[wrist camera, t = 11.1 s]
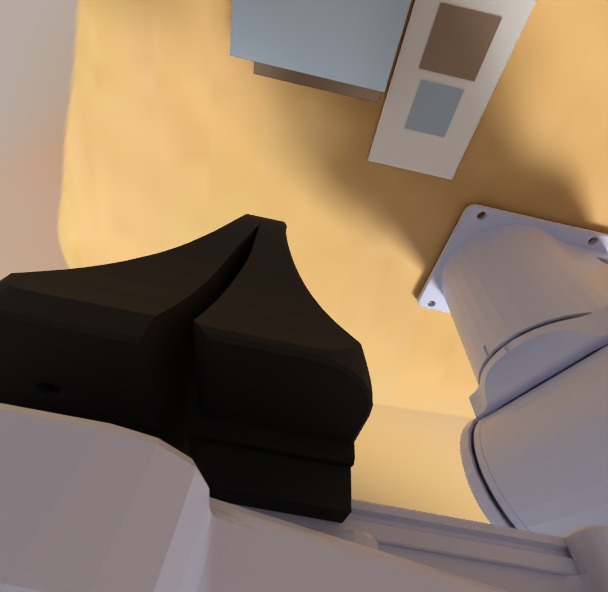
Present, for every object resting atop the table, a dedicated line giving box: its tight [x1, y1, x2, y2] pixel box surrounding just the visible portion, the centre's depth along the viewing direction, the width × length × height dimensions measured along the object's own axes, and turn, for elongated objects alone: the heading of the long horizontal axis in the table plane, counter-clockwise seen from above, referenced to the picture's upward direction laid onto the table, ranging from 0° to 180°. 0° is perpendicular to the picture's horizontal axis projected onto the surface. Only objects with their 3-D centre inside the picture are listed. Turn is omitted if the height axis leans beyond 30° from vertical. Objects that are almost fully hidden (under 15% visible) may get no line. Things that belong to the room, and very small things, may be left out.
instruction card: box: [368, 0, 536, 180], centre depth 16 cm, size 5×8×1 cm, turn 169°
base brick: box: [254, 61, 382, 103], centre depth 14 cm, size 6×6×2 cm
